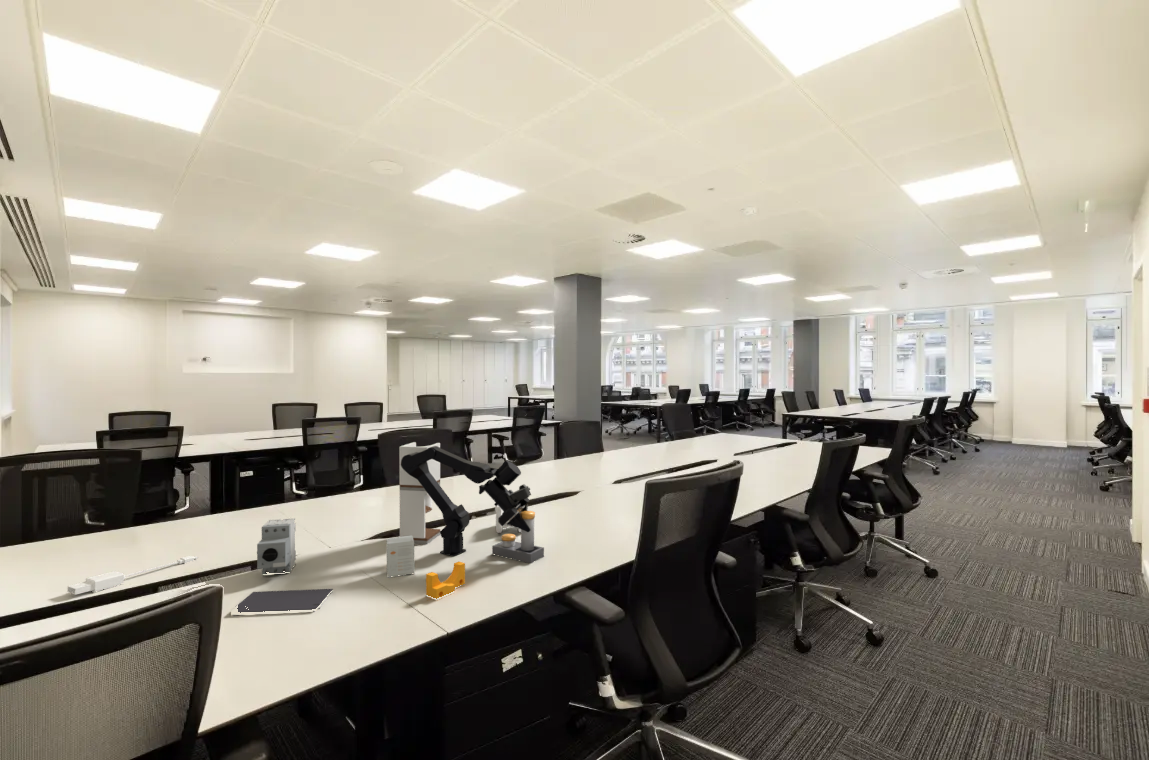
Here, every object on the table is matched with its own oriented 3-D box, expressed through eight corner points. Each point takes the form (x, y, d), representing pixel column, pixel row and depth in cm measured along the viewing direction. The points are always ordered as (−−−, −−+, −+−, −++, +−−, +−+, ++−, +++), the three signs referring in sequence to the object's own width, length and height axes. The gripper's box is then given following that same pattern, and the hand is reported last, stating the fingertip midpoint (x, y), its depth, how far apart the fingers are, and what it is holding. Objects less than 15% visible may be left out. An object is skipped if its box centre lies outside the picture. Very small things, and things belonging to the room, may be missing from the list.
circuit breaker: (255, 584, 154) (255, 533, 154) (269, 566, 168) (269, 519, 168) (284, 581, 156) (283, 531, 156) (295, 564, 170) (295, 518, 170)
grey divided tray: (530, 563, 172) (530, 545, 171) (492, 554, 180) (492, 537, 180) (543, 556, 178) (543, 538, 178) (506, 548, 186) (506, 531, 186)
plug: (527, 551, 173) (527, 515, 173) (517, 548, 177) (517, 512, 176) (537, 548, 177) (537, 512, 177) (527, 545, 180) (528, 510, 180)
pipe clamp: (436, 601, 144) (436, 577, 144) (426, 597, 146) (426, 574, 146) (469, 586, 154) (469, 564, 154) (458, 583, 156) (458, 561, 156)
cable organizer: (522, 535, 201) (522, 505, 201) (494, 535, 200) (494, 505, 200) (524, 524, 216) (524, 495, 215) (498, 524, 215) (498, 495, 215)
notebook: (332, 593, 149) (253, 597, 147) (332, 588, 149) (252, 591, 147) (316, 614, 137) (228, 618, 134) (316, 608, 137) (228, 612, 134)
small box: (413, 568, 167) (413, 535, 167) (414, 574, 162) (414, 540, 162) (386, 571, 165) (386, 537, 164) (387, 578, 159) (386, 543, 159)
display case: (427, 544, 190) (427, 447, 190) (399, 542, 192) (399, 446, 191) (440, 534, 202) (440, 443, 201) (414, 533, 203) (413, 442, 203)
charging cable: (200, 563, 174) (201, 553, 174) (76, 598, 144) (76, 585, 144) (191, 561, 176) (191, 551, 176) (66, 594, 146) (66, 582, 146)
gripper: (507, 484, 168) (541, 521, 166) (524, 473, 186) (554, 506, 184) (484, 507, 170) (517, 544, 168) (502, 494, 188) (532, 527, 186)
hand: (531, 529), depth 176 cm, fingers closed on plug, 4 cm apart
